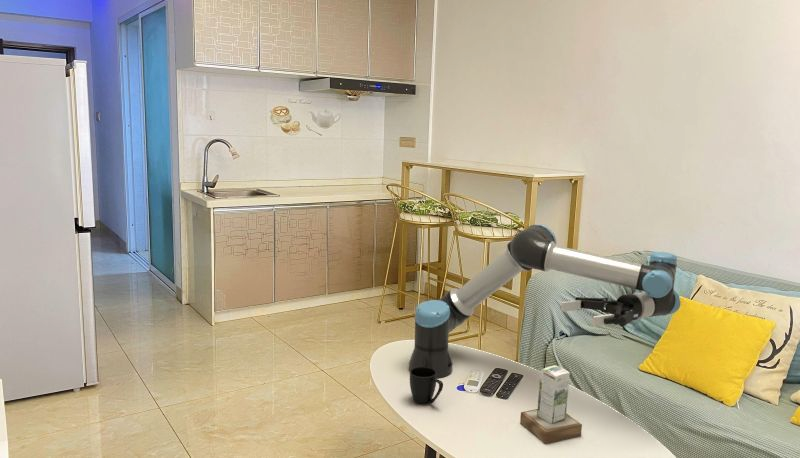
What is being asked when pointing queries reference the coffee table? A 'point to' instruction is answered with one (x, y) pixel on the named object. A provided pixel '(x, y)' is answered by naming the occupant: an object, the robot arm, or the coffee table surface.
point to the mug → (424, 385)
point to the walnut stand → (550, 427)
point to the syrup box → (553, 394)
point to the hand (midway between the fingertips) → (577, 313)
